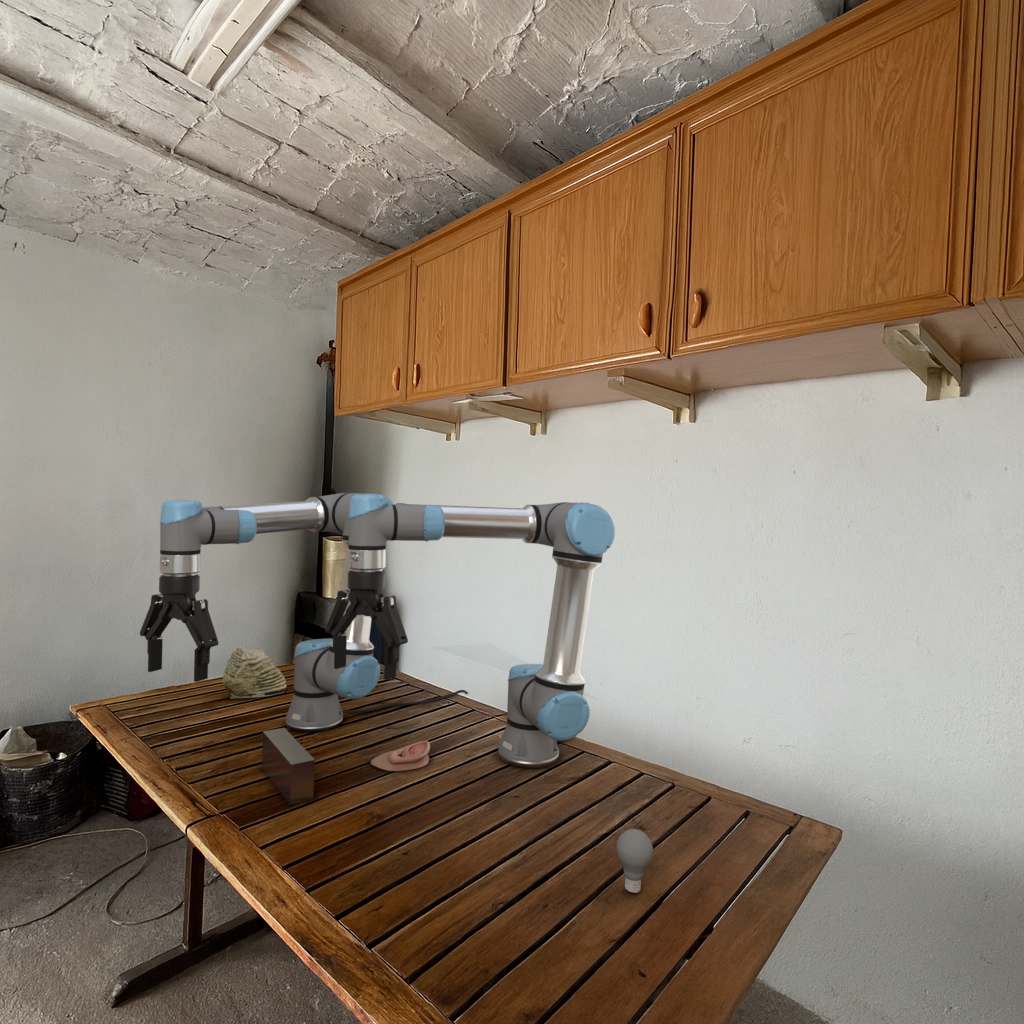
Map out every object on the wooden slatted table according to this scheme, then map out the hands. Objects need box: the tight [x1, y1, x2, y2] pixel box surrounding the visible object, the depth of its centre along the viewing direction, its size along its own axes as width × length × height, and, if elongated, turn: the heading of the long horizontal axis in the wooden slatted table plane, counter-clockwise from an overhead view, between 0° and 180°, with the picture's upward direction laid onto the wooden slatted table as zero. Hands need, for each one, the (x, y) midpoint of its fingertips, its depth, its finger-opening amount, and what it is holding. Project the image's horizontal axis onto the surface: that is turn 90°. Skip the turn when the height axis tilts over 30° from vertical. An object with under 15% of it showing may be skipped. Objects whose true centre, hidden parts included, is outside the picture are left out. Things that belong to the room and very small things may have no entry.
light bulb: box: [615, 828, 654, 894], centre depth 106 cm, size 6×6×10 cm
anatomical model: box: [370, 740, 431, 772], centre depth 153 cm, size 13×4×12 cm
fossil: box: [222, 646, 288, 699], centre depth 198 cm, size 9×18×15 cm, turn 132°
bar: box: [261, 727, 316, 806], centre depth 140 cm, size 21×5×8 cm, turn 36°
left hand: (177, 675), depth 133 cm, fingers open, 13 cm apart
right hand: (364, 672), depth 130 cm, fingers open, 13 cm apart
